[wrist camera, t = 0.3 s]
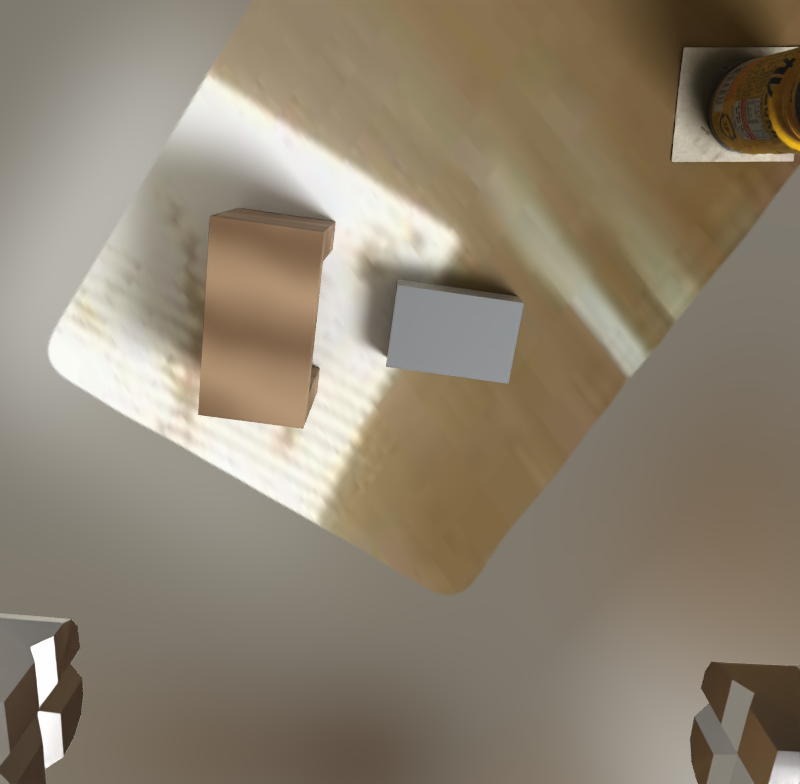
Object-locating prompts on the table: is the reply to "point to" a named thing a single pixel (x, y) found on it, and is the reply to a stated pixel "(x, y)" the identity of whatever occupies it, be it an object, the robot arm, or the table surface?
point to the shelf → (262, 316)
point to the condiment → (738, 105)
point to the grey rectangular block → (454, 331)
